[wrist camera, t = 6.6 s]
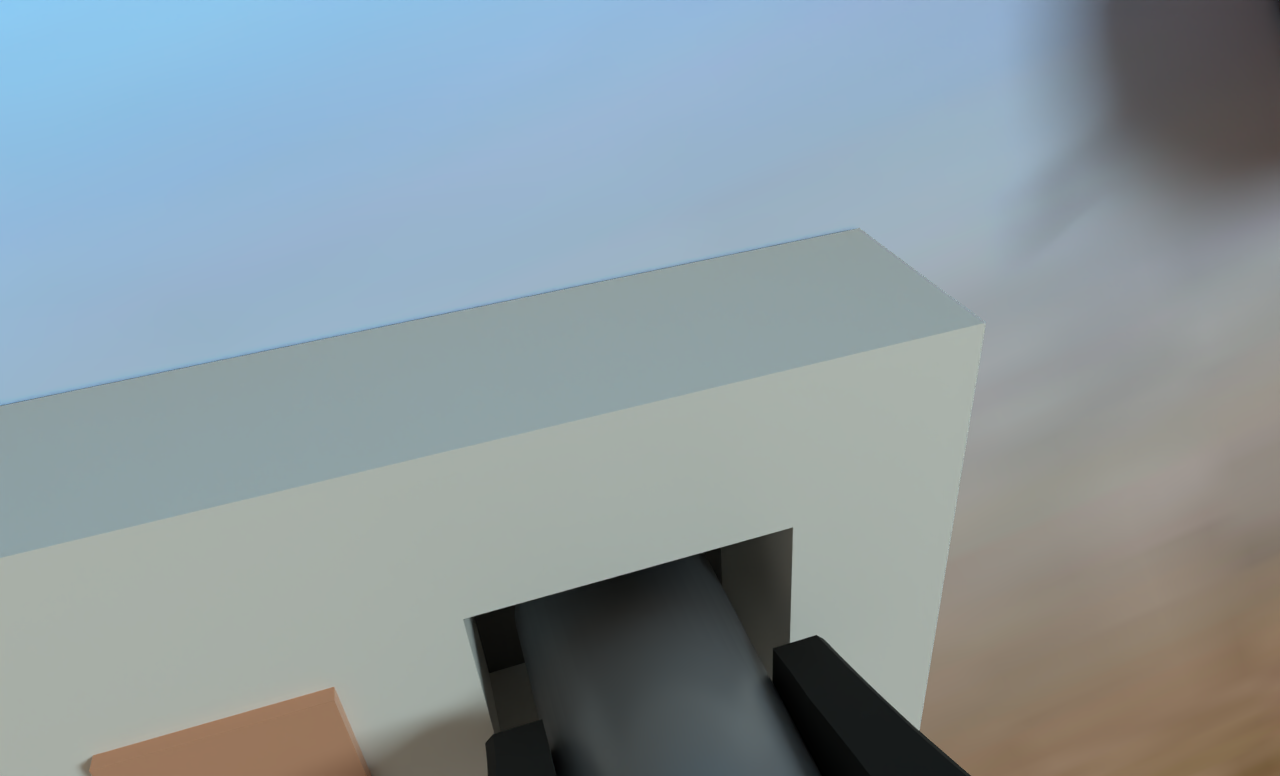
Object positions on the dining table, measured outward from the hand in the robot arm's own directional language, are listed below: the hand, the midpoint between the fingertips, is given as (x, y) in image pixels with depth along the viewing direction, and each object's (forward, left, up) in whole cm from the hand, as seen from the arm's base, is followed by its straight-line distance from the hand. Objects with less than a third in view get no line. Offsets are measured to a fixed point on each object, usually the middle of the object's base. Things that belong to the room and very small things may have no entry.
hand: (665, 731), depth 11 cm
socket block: (-4, +2, -4) cm, 6 cm away
